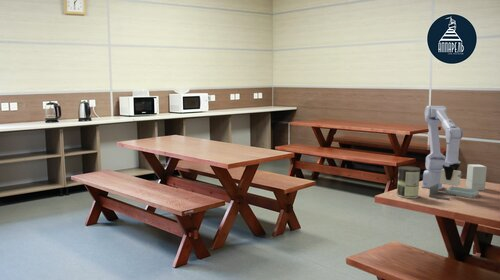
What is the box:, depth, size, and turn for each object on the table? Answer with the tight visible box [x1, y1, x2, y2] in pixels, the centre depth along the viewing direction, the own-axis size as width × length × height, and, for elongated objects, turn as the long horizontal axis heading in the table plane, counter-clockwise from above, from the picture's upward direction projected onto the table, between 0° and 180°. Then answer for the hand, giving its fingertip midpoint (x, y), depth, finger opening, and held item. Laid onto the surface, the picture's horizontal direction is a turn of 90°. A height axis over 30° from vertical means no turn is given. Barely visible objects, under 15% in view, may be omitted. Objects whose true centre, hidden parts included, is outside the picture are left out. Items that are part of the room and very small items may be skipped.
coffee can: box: [396, 165, 421, 199], centre depth 244 cm, size 10×10×14 cm
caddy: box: [440, 169, 463, 187], centre depth 245 cm, size 9×5×7 cm, turn 51°
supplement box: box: [465, 163, 488, 191], centre depth 263 cm, size 7×7×13 cm
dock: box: [428, 183, 457, 201], centre depth 244 cm, size 10×11×5 cm
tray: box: [445, 185, 480, 199], centre depth 250 cm, size 13×10×2 cm
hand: (450, 178), depth 245 cm, fingers open, 5 cm apart
